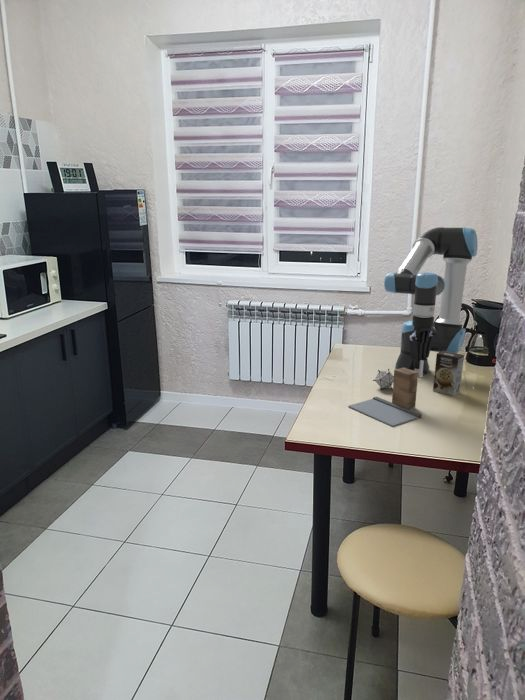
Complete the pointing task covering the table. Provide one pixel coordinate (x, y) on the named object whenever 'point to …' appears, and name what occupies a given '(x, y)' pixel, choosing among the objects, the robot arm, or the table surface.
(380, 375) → the game die
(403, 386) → the walnut block
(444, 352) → the coffee box
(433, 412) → the table surface
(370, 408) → the grey flat panel
